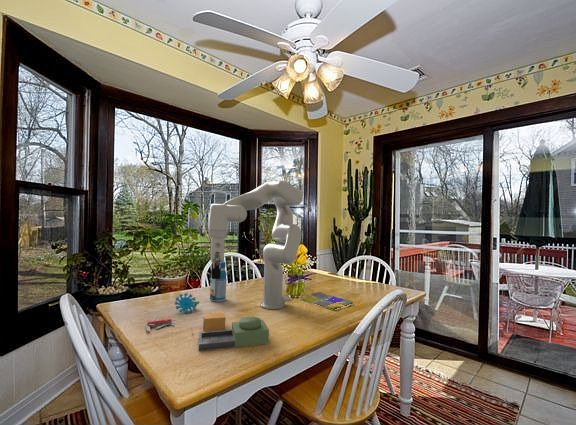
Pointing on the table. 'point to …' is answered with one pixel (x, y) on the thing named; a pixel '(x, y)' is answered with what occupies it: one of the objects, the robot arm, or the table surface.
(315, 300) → the dish towel
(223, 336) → the dark gray rectangular tray
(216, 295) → the beverage bottle
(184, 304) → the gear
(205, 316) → the light orange rectangular block
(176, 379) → the table surface
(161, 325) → the swiss army knife
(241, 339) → the green domed block
